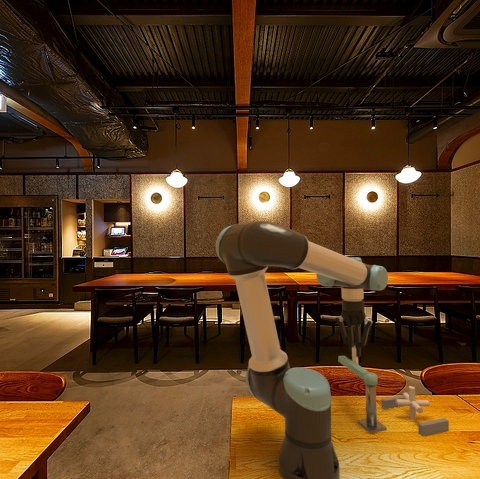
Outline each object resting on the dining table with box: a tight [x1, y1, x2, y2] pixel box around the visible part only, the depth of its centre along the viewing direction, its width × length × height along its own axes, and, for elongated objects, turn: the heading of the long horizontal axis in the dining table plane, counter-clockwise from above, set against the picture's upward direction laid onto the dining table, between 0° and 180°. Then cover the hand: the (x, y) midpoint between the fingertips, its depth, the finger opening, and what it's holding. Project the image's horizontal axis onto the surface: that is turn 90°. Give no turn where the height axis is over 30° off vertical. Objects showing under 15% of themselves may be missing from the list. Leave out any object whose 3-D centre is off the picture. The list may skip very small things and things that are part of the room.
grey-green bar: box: [337, 355, 378, 386], centre depth 102 cm, size 20×4×2 cm, turn 10°
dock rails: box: [380, 395, 450, 437], centre depth 98 cm, size 10×17×3 cm, turn 15°
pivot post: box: [356, 384, 387, 434], centre depth 94 cm, size 6×6×13 cm
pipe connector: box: [395, 385, 431, 421], centre depth 98 cm, size 10×10×10 cm
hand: (355, 365), depth 108 cm, fingers closed
